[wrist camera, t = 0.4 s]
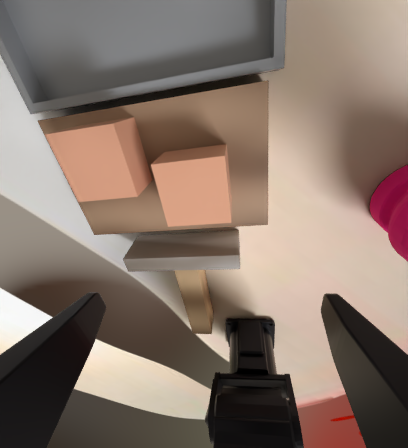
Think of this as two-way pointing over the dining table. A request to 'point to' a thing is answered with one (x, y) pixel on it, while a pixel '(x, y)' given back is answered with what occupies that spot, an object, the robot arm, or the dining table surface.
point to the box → (134, 46)
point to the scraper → (188, 265)
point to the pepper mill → (393, 209)
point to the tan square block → (194, 186)
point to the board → (187, 139)
